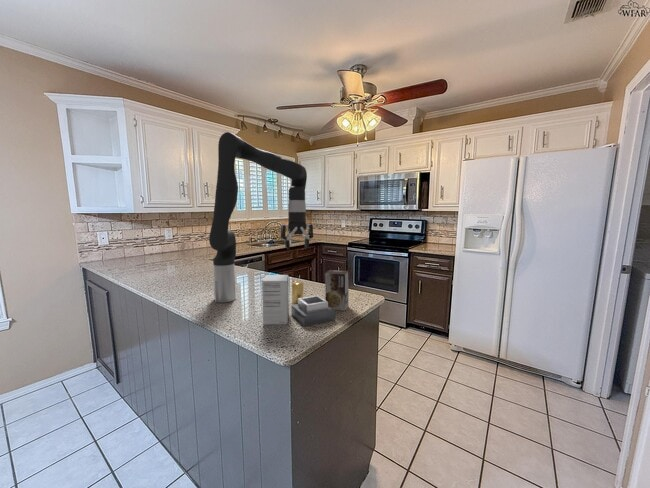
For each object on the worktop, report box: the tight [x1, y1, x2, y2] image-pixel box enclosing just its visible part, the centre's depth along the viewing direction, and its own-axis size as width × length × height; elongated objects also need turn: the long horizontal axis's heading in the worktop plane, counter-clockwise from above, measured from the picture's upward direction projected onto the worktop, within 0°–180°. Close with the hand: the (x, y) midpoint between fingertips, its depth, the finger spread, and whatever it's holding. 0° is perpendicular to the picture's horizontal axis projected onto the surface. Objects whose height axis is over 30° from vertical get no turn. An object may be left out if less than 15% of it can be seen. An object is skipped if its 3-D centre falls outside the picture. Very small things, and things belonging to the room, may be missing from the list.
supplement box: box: [261, 274, 290, 326], centre depth 104 cm, size 10×9×17 cm
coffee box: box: [324, 269, 350, 312], centre depth 118 cm, size 9×6×16 cm
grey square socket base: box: [291, 295, 336, 327], centre depth 108 cm, size 13×13×7 cm
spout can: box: [291, 280, 304, 306], centre depth 123 cm, size 5×7×10 cm
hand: (297, 248), depth 119 cm, fingers open, 8 cm apart
